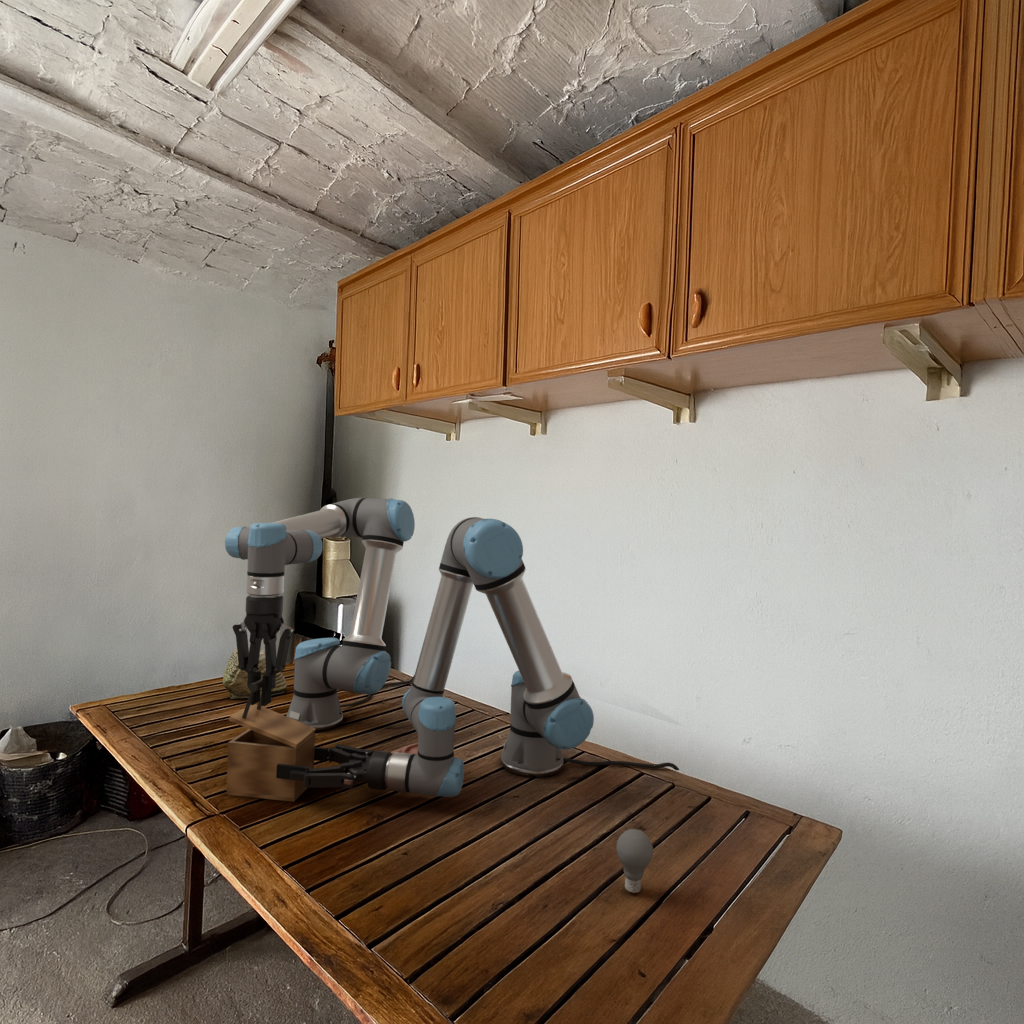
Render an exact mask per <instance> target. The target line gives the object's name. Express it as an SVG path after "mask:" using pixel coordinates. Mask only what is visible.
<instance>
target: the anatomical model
mask: <svg viewBox="0 0 1024 1024" xmlns="http://www.w3.org/2000/svg"><path fill="white" fill-rule="evenodd" d="M390 752H391V753H392V754H393V753H395V752H399V753H409V754H416V755H418V742H415V743H412V744H409V745H405V746H402V747H399V748H398V749H394V750H391V751H390Z"/></svg>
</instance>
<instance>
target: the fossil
mask: <svg viewBox="0 0 1024 1024" xmlns="http://www.w3.org/2000/svg"><path fill="white" fill-rule="evenodd" d="M249 649H250V647H249ZM258 668H259V670H257V671H256V672H258V671H260V672H261V678H262V677H263V675H264V674H265V673H266V660H265V649H263V648H262V647H261V648H260V656H259V663H258ZM222 676H223V677H222V685H223V687H224V688H225V690H226V691H228V693H229V698H230V699H248V698H249V695H250V692H251V691H250V690H249V688H248V686H247V680H248V673H247V672H246V671H244V670H240V669H239V663H238V653H237V648H236V649H235V650H233V651H232V653H231V656H230V657H229V659H228V660H227V663H226V666H225V668H224V671H223V675H222ZM287 687H288V686H287V680H286V678H285V676H284V674H283V673H282V671H281V672H279V673H276V681H275V688H274V689H272V690H271V697H272V696H275V695H281V694H284V693H285V691H286V689H287ZM261 694H262V688H261V689H260V697H261Z"/></svg>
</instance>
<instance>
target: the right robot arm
mask: <svg viewBox="0 0 1024 1024" xmlns="http://www.w3.org/2000/svg"><path fill="white" fill-rule="evenodd" d="M441 555H442V556H441V560H440V562H439V565H438V566H439V567H438V571H439V573H440V579H439V583H438V587H437V591H436V593H435V594H436V595H435V599H434V602H433V606H432V609H431V613H430V617H429V620H428V625H427V628H426V631H425V635H424V639H423V643H422V646H421V650H420V653H419V657H418V660H417V665H416V668H415V672H414V674H413V676H414V679H413V681H412V682H411V686H410V688H409V689H408V690H407V691H406V692H405V693H404V695H403V697H402V699H401V707H402V710H403V714H404V716H405V717H406V719H407V720H408V721H409V722H410V723H411V725H412V726H413V728H414V730H415V731H416V733H417V743H418V755H416V754H409V753H399V752H395V753H393V754H392V753H391V752H392V751H385V750H384V751H383V750H375V749H363V748H359V747H355V746H349V745H345V744H341V743H337V744H335V745H334V746H330V747H320V746H315V749H314V762H315V761H316V762H325V763H326V762H328V763H329V764H330V763H333V762H334V763H336V764H338V765H334V766H326V767H314V769H309V765H308V766H297V765H287V764H278V765H277V772H276V778H280V779H290V780H300V781H304V787H306V788H307V789H308V788H310V789H312V788H314V789H315V788H344V789H350V790H351V789H354V787H355V783H356V782H366V784H367V787H368V789H370V790H377V791H386V790H388V791H389V792H390V791H391V792H399V793H400V794H404V793H408V794H409V793H410V794H417V795H418V794H419V795H428V796H435V797H444V798H445V797H446V798H448V797H449V798H450V797H457V796H458V795H459V794H460V793H461V791H462V788H463V784H464V776H465V762H464V760H463V759H462V758H459V757H456V756H455V735H456V722H457V714H456V704H455V702H454V701H453V700H452V699H451V698H447V697H445V696H444V693H445V689H446V685H447V681H448V677H449V675H450V670H451V667H452V663H453V659H454V657H455V651H456V649H457V644H458V641H459V638H460V634H461V630H462V627H463V623H464V620H465V616H466V615H465V614H466V612H467V608H468V605H469V601H470V597H471V594H472V590H473V586H474V588H475V590H476V591H477V592H480V593H481V594H484V595H485V596H486V598H487V600H488V603H489V605H490V607H491V610H492V612H493V614H494V617H495V619H496V621H497V623H498V625H499V628H500V631H501V632H502V635H503V637H504V640H505V641H506V644H507V646H508V648H509V650H510V653H511V655H512V657H513V659H514V662H515V665H516V667H517V669H518V670H517V671H515V672H514V673H513V674H512V677H511V678H512V679H511V684H510V688H511V690H510V692H511V694H510V718H509V719H510V720H509V732H508V735H507V738H506V739H505V740H504V743H503V747H502V748H503V749H502V751H501V756H500V764H501V767H503V768H504V769H505V770H506V771H508V772H510V773H512V774H514V775H519V776H521V777H522V776H523V777H531V778H543V777H550V776H554V775H556V774H558V773H560V772H561V771H562V770H563V768H564V763H570V764H575V765H576V764H577V765H580V766H590V767H596V766H598V767H600V766H601V767H602V766H627V767H635V768H644V769H662V768H668V767H669V768H672V769H673V770H674V771H680V768H679V767H678V766H677V765H676V764H674V763H673V762H661V763H654V764H653V763H643V762H635V761H626V760H625V761H623V760H604V761H603V760H602V761H586V760H580V759H575V758H569V757H564V753H563V751H562V750H573V749H575V748H577V747H578V746H581V745H582V744H583V743H584V742H585V741H586V740H587V739H588V737H589V736H590V734H591V731H592V729H593V727H594V722H595V717H594V716H595V715H594V711H593V708H592V707H591V705H590V704H589V702H588V701H586V700H585V699H584V698H582V697H581V696H580V693H579V692H578V689H577V686H576V685H575V682H574V680H573V678H572V676H571V674H569V673H567V672H563V671H562V669H561V667H560V664H559V662H558V659H557V657H556V655H555V652H554V649H553V647H552V645H551V643H550V641H549V638H548V636H547V633H546V631H545V629H544V626H543V624H542V621H541V619H540V617H539V614H538V612H537V610H536V608H535V607H536V606H535V605H534V602H533V600H532V598H531V596H530V593H529V591H528V588H527V586H526V584H525V580H524V575H525V573H526V570H527V568H526V565H525V563H524V561H523V556H524V545H523V541H522V539H521V536H520V535H519V533H518V532H517V530H516V529H515V528H514V527H513V526H511V525H510V524H508V523H506V522H505V521H502V520H500V519H496V518H482V517H478V516H473V517H467V518H464V519H462V520H460V521H458V522H457V523H456V524H455V525H454V526H453V528H451V530H450V532H449V534H448V536H447V539H446V542H445V544H444V549H443V552H442V554H441ZM654 765H655V766H654Z"/></svg>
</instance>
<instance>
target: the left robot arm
mask: <svg viewBox="0 0 1024 1024" xmlns="http://www.w3.org/2000/svg"><path fill="white" fill-rule="evenodd" d="M412 509H413V508H412V507H411V506H410V504H409V503H408V502H406V501H405V500H402V499H395V498H372V497H354V498H349V499H345V500H340V501H337V502H333V503H330V504H325V505H324V506H322V507H321V508H320V510H317V511H312V512H308V513H305V514H301V515H295V516H293V517H288V518H285V519H280V520H277V521H273V522H254V523H252V524H251V525H250V526H249V527H247V526H236V527H233V528H231V529H230V530H229V531H228V532H227V534H226V536H225V539H224V547H225V551H226V553H227V554H228V555H229V557H231V558H234V559H239V560H242V561H245V560H247V571H246V591H245V592H246V594H248V595H247V596H246V597H245V617H244V619H243V621H241V622H239V623H236V624H233V625H232V630H233V632H234V633H233V634H234V636H235V640H236V641H235V642H236V649H237V653H238V663H239V669H240V670H244V671H246V672H247V673H248V680H247V686H248V688H249V685H250V684H252V683H253V682H255V681H257V680H259V679H261V672H260V671H258V672H256V671H257V670H259V668H258V663H259V656H260V648H261V649H262V647H261V646H262V642H263V644H264V652H265V660H266V673H265V674H264V675H263V677H262V702H261V706H262V707H266V706H268V705H269V704H271V703H272V696H271V690H272V689H274V688H275V681H276V673H279V672H281V673H282V672H283V671H284V670H285V669H286V665H287V660H288V653H289V650H290V649H289V648H290V645H291V638H292V636H293V634H294V633H295V630H296V629H295V627H294V626H289V625H288V624H285V621H284V618H283V613H284V596H283V593H285V570H286V569H285V568H286V566H288V565H298V564H303V565H304V564H307V563H311V562H314V561H316V560H318V559H319V557H321V555H322V552H323V540H322V539H325V538H331V539H336V538H339V537H349V538H351V537H352V538H361V544H362V545H363V546H364V548H365V552H364V556H363V562H362V568H361V572H360V577H359V584H358V589H357V595H356V600H355V605H354V609H353V610H354V611H353V614H352V615H353V616H352V621H351V626H350V631H349V634H348V635H347V636H346V637H344V638H343V639H342V643H341V641H340V640H339V638H337V637H321V638H313V639H307V640H304V641H302V642H299V643H298V644H297V645H296V647H295V652H294V653H295V654H294V658H293V660H294V670H293V671H294V672H293V695H292V696H293V697H292V699H291V702H290V704H289V708H288V711H287V713H286V715H285V716H286V717H289V718H291V719H294V720H296V721H298V722H301V723H303V724H306V725H308V726H311V727H313V728H315V729H316V730H315V732H314V733H316V732H325V731H329V730H332V729H335V728H337V727H339V726H340V725H342V723H343V722H344V714H343V709H342V708H346V707H348V708H349V707H351V706H356V705H359V704H362V703H364V702H366V701H368V700H369V699H371V697H372V695H374V694H376V693H378V692H379V691H380V690H381V689H382V688H384V687H385V688H386V687H389V686H399V685H400V686H401V685H407V684H410V683H412V682H413V679H414V675H413V676H412V677H411V679H410V680H405V681H398V682H397V681H396V682H389V683H386V682H387V680H388V678H389V676H390V672H391V668H392V661H391V660H392V658H391V656H390V655H391V654H389V653H388V652H387V651H386V646H387V645H386V643H385V642H384V641H383V639H382V637H383V632H384V626H385V620H386V616H387V615H386V614H387V608H388V603H389V597H390V592H391V588H392V587H391V586H392V580H393V575H394V569H395V564H396V557H397V554H398V553H399V552H400V551H402V550H403V548H404V544H405V543H404V542H408V541H410V540H411V539H412V537H413V535H414V533H415V525H416V523H415V515H414V512H413V510H412ZM247 631H248V632H249V633H250V634H249V638H248V632H247ZM279 632H280V633H279ZM278 633H279V635H280V638H279V642H278V647H277V640H278V639H277V637H278V636H277V634H278ZM340 644H341V645H340ZM249 648H250V649H249ZM338 691H341V692H347V693H355V694H356V695H367V697H365V698H362V699H360V700H357V701H353V702H350V703H346V704H345V703H344V704H341V702H340V699H339V695H338ZM259 701H260V689H259V690H257V691H256V692H255V693H254V696H253V699H252V702H251V705H254V704H258V703H259Z"/></svg>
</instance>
